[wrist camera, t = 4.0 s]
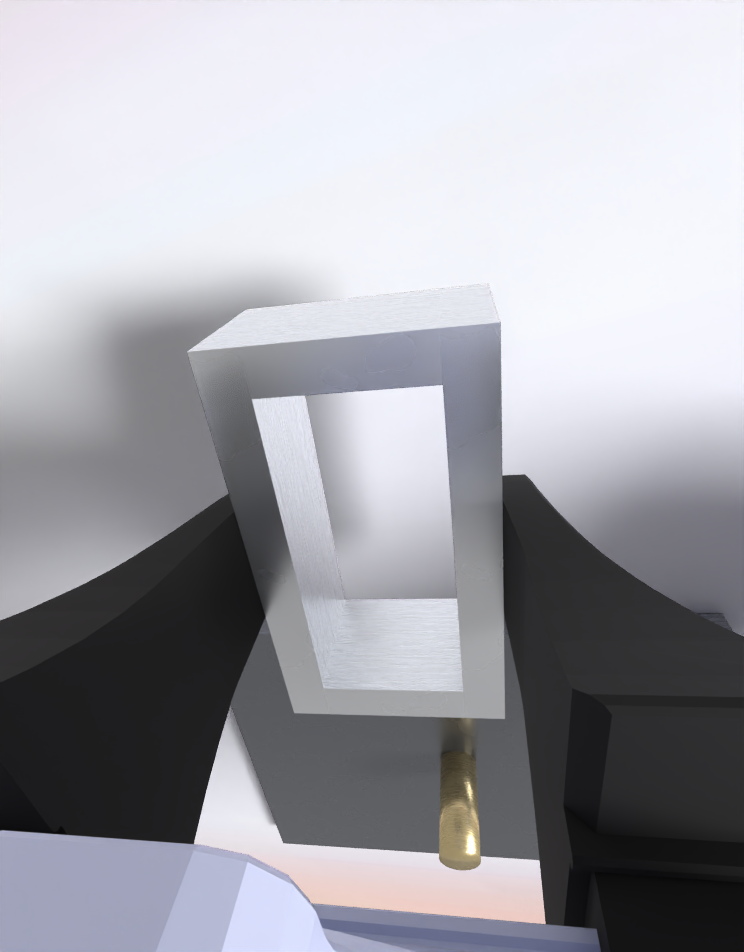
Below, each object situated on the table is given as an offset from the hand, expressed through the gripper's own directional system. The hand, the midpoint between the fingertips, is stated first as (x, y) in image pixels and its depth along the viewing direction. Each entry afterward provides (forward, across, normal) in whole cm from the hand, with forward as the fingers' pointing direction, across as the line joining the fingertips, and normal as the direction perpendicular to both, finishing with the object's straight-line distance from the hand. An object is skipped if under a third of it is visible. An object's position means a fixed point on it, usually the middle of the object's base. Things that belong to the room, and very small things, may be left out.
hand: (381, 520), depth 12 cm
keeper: (+6, -1, +17) cm, 18 cm away
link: (+1, 0, 0) cm, 1 cm away
